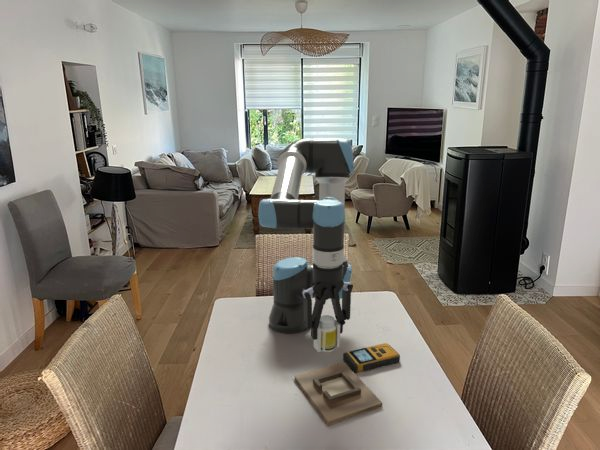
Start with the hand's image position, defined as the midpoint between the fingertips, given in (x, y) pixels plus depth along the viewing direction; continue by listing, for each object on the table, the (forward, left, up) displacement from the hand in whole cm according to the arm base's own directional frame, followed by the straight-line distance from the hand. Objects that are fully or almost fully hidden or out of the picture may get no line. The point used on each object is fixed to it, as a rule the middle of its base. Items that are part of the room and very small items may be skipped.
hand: (326, 346), depth 114 cm
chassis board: (+1, +3, -15) cm, 15 cm away
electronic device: (-8, +20, -15) cm, 26 cm away
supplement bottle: (0, 0, -1) cm, 1 cm away
